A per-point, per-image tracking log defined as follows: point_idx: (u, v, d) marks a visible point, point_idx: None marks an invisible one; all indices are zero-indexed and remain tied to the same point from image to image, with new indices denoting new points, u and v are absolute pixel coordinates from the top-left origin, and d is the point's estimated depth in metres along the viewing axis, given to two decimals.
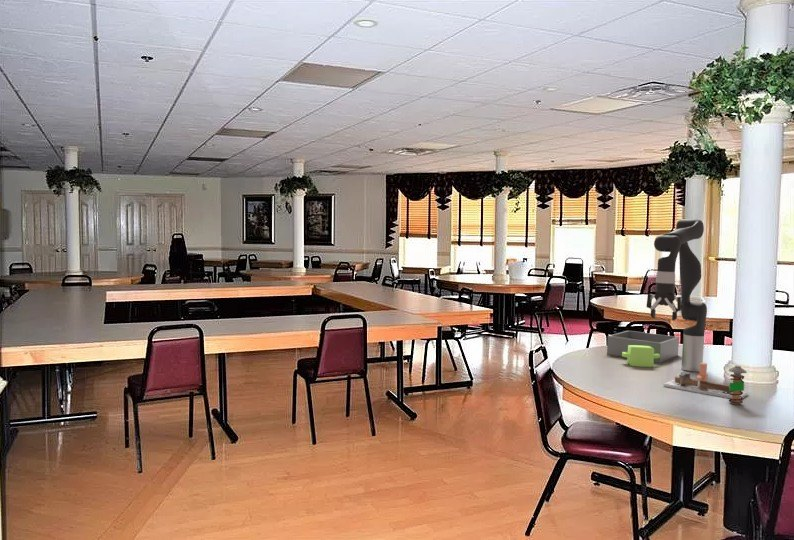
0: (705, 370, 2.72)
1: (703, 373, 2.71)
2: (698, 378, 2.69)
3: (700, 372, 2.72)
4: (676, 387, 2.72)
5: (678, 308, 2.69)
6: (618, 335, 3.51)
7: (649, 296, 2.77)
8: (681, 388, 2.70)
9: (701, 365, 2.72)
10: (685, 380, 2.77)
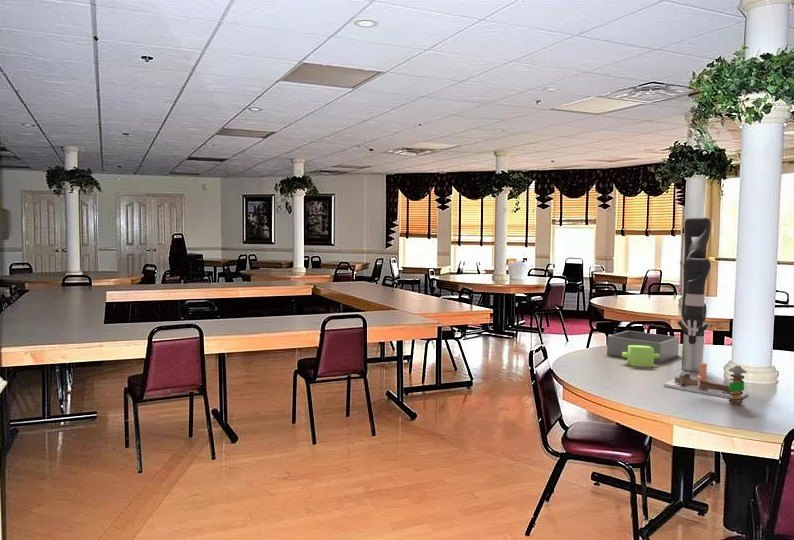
0: (705, 370, 2.72)
1: (703, 373, 2.71)
2: (698, 378, 2.69)
3: (700, 372, 2.72)
4: (676, 387, 2.72)
5: (698, 332, 2.72)
6: (618, 335, 3.51)
7: (680, 323, 2.77)
8: (681, 388, 2.70)
9: (701, 365, 2.72)
10: (685, 380, 2.77)
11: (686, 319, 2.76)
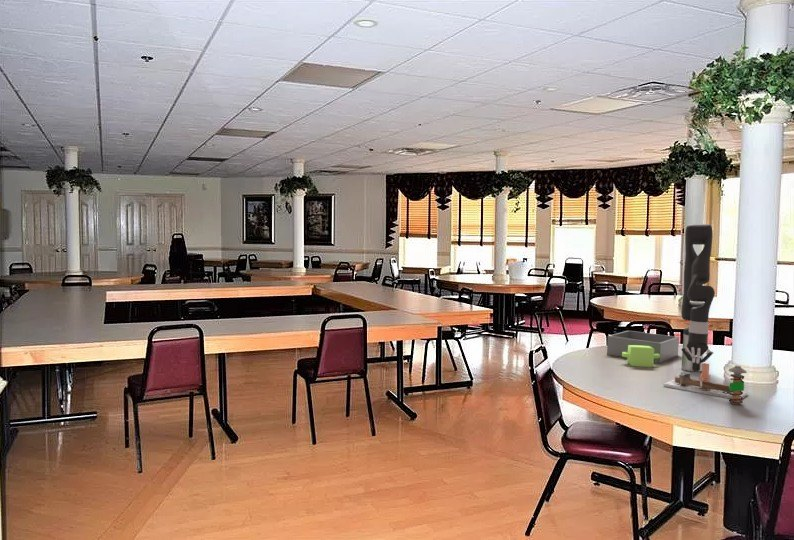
0: (707, 370, 2.71)
1: (705, 373, 2.71)
2: (700, 378, 2.68)
3: (702, 372, 2.71)
4: (676, 387, 2.72)
5: (701, 360, 2.72)
6: (618, 335, 3.51)
7: (683, 350, 2.77)
8: (681, 388, 2.70)
9: (703, 365, 2.71)
10: (685, 380, 2.77)
11: (690, 346, 2.75)
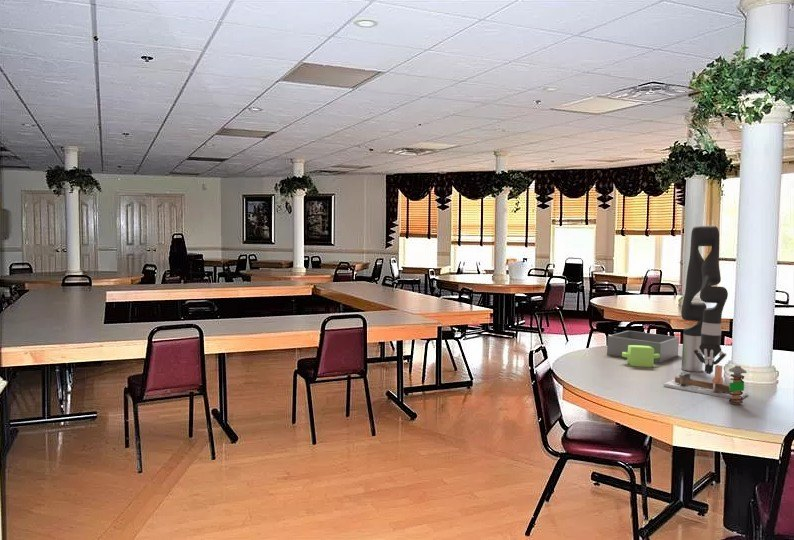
0: (720, 372, 2.68)
1: (718, 376, 2.67)
2: (713, 381, 2.65)
3: (715, 374, 2.68)
4: (676, 387, 2.72)
5: (714, 362, 2.68)
6: (618, 335, 3.51)
7: (696, 351, 2.73)
8: (681, 388, 2.70)
9: (716, 367, 2.68)
10: (685, 380, 2.77)
11: (702, 348, 2.71)
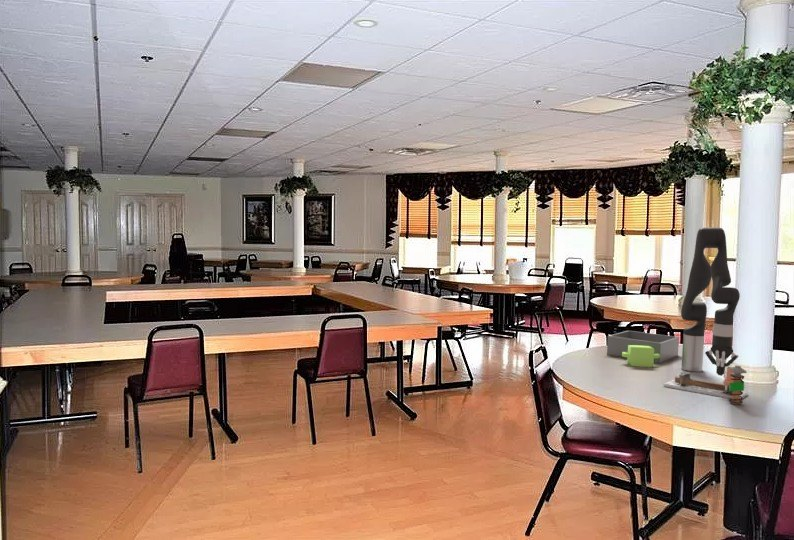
0: None
1: (730, 377, 2.64)
2: (725, 383, 2.62)
3: (727, 376, 2.65)
4: (676, 387, 2.72)
5: (726, 363, 2.65)
6: (618, 335, 3.51)
7: (707, 353, 2.70)
8: (681, 388, 2.70)
9: (728, 369, 2.65)
10: (685, 380, 2.77)
11: (714, 349, 2.68)
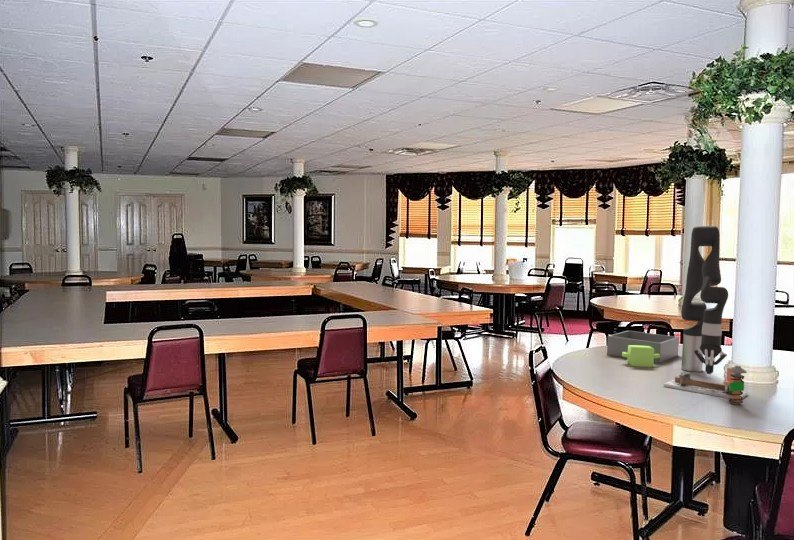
0: None
1: (730, 377, 2.64)
2: (726, 383, 2.62)
3: (727, 376, 2.65)
4: (676, 387, 2.72)
5: (715, 362, 2.68)
6: (618, 335, 3.51)
7: (696, 352, 2.73)
8: (681, 388, 2.70)
9: (728, 369, 2.65)
10: (685, 380, 2.77)
11: (703, 348, 2.71)
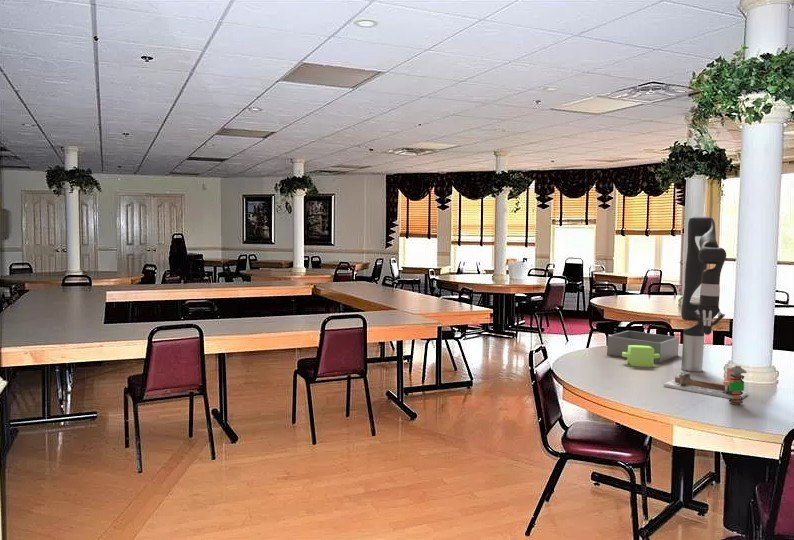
0: None
1: (730, 377, 2.64)
2: (726, 383, 2.62)
3: (727, 376, 2.65)
4: (676, 387, 2.72)
5: (713, 322, 2.70)
6: (618, 335, 3.51)
7: (694, 313, 2.74)
8: (681, 388, 2.70)
9: (728, 369, 2.65)
10: (685, 380, 2.77)
11: (701, 309, 2.73)
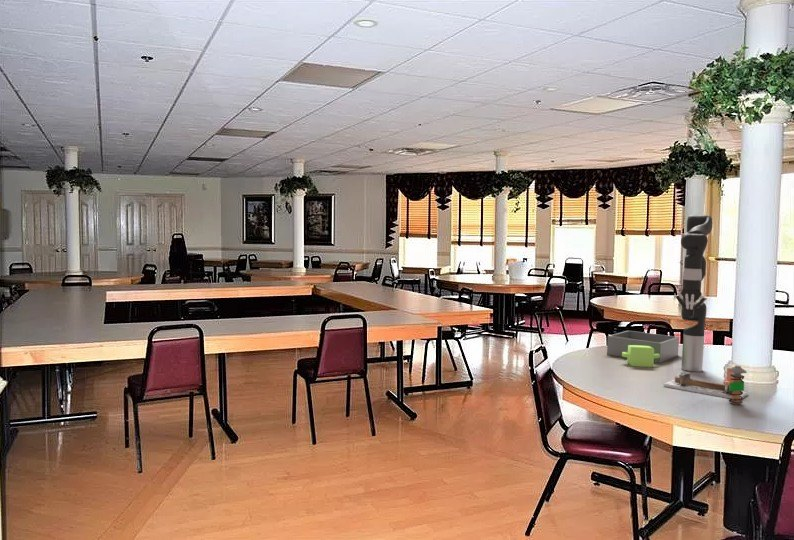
0: None
1: (730, 377, 2.64)
2: (726, 383, 2.62)
3: (727, 376, 2.65)
4: (676, 387, 2.72)
5: (695, 306, 2.80)
6: (618, 335, 3.51)
7: (678, 297, 2.85)
8: (681, 388, 2.70)
9: (728, 369, 2.65)
10: (685, 380, 2.77)
11: (684, 293, 2.83)
